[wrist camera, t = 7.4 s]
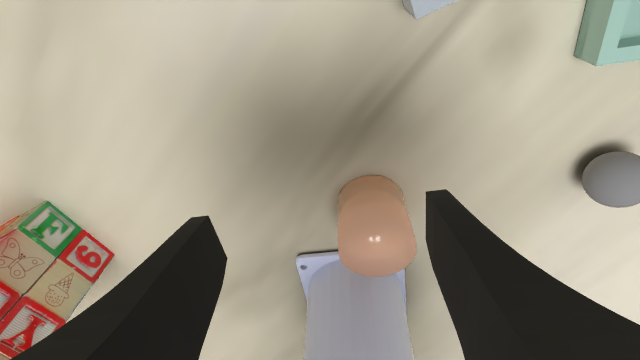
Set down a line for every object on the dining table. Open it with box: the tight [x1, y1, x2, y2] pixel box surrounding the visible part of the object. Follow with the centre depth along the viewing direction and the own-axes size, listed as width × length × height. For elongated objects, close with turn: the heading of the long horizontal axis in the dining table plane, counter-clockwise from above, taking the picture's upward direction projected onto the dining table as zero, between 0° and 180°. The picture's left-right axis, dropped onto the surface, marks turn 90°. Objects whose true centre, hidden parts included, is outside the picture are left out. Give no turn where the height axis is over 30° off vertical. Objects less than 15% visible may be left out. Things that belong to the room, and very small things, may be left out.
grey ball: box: [582, 151, 640, 208], centre depth 20 cm, size 3×3×3 cm
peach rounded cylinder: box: [338, 175, 417, 277], centre depth 22 cm, size 4×4×4 cm
